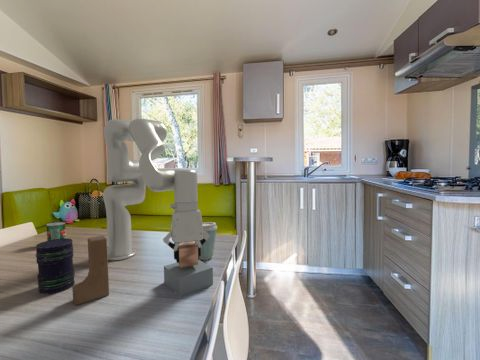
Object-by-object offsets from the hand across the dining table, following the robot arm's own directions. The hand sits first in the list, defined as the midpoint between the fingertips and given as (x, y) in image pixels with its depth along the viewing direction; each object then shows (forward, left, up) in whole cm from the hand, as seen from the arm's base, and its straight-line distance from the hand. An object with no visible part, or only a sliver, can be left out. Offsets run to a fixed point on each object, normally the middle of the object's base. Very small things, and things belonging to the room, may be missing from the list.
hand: (187, 259), depth 84 cm
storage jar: (-41, +14, -8) cm, 44 cm away
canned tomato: (-56, +68, -9) cm, 88 cm away
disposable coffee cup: (+11, +21, -8) cm, 25 cm away
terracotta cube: (0, 0, -1) cm, 1 cm away
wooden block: (-29, +2, -8) cm, 30 cm away
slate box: (0, 0, -9) cm, 9 cm away
